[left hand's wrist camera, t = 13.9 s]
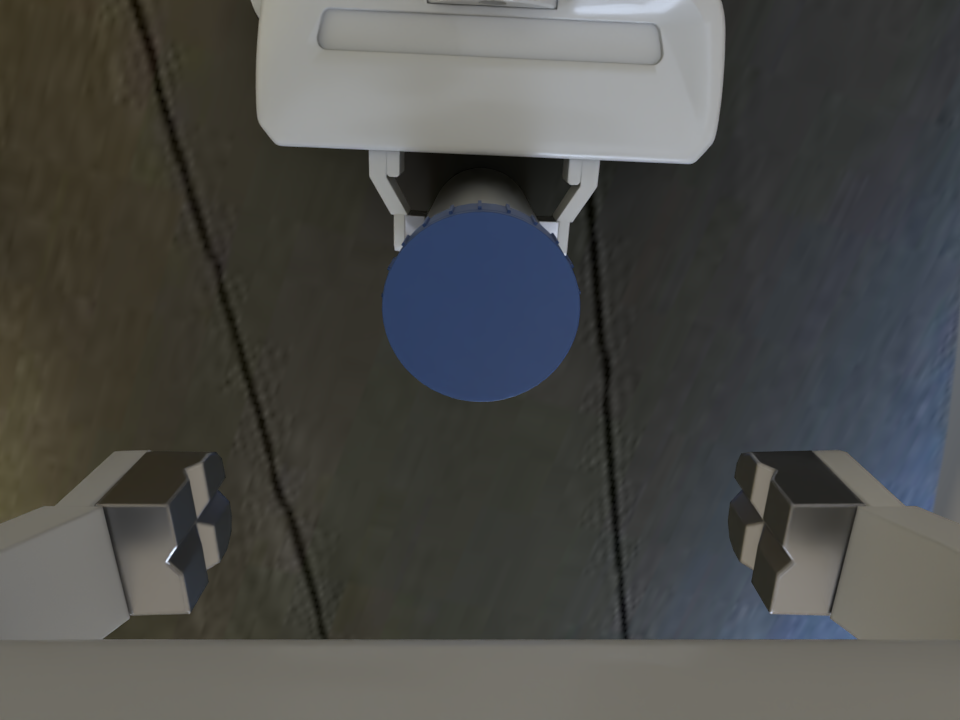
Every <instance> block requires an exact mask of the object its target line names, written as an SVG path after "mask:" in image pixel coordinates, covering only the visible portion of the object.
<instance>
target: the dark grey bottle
mask: <svg viewBox="0 0 960 720" xmlns="http://www.w3.org/2000/svg"><path fill="white" fill-rule="evenodd" d="M478 200H481V201H482V203H490V204H498V205H502V206H505V205H506V204H509V205H510V208H513V209H515V210H518V211H520V212H522V213H524V214H526V215H528V216H531V215H533V216H534V217H535V219H536V221H537V222H538V220H537V218H536V216H535V214H534V212H533V210H532V208H531V206H530V204H529V202H528V200H527V199H526V197H525V195H524V193H523V191H522V190H521V188H520V187H519V186H518V184H517V183H516V182H515V181H514V180H513V179H511V178H510V177H509V176H507V175H506V174H504V173H502V172H500V171H497V170H494V169H489V168H473V169H468V170H465V171H462V172H460V173H458V174H457V175H455V176H454V177H452V178H451V179H450V180H449V181H447V182H446V183H445V185H444V186H443V187H442V188H441V190H440V191H439V193H438V195H437V197H436V199H435V201H434V203H433V205H432V207H431V209H430V210H429V212H428V214H427V216H426V217H428V216H429V218H431V217H433V216H434V215H436V214H438V213H440V212H442V211H444V210H447V209H450V205H453V204H454V207H456V206H460V205H465V204H471V203H478ZM538 223H539V222H538Z"/></svg>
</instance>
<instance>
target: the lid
mask: <svg viewBox="0 0 960 720" xmlns="http://www.w3.org/2000/svg"><path fill="white" fill-rule="evenodd" d="M558 244H559V241H558V239H557V238H556V236H555V235H554V233H553V232H552V233H551V234H550V233H549V232H548V231H547V230H546V229H545V228H544V227H543V226H542V225H541V224H540V223H538V222H537V221H536V219H535V217H534V216H533V215H531V216H528V215H526V214H524V213H522V212H520V211H518V210H515V209H513V208H510V205H509V204H506V205H505V206H502V205H498V204H490V203H482V201H481V200H478V203H471V204H465V205H460V206H456V207H454V204H453V205H450V209H447V210H444V211H442V212H440V213H438V214H436V215H434V216H433V217H431V218H429V216H428V217H426V218H425V220H424V222H423V224H422V225H421V226H419V227H418V228H417V229H416V230H415V231H414V232H413V233H412V235H411V236H409V235H407V236H406V238H405V239H404V241H403V243H402V244H401V245H402V246H403V247H402V248H401V250H400V252H399V253H398V255H397V257H396V258H393V260H392V262H391V263H390V265H389V267H388V269H387V270H389V273H388V276H387V279H386V282H385V286H384V291H383V293H382V314H383V323H384V327H385V331H386V335H387V337H388V340H389V342H390V345H391V347H392V349H393V351H394V352H395V354H396V356H397V357H398V359H399V360H400V362H401V363H402V364H403V366H404V367H405V368H406V369H407V370H408V371H409V372H410V373H411V374H412V375H413V376H414V377H415V378H417V379H418V380H419V381H420V382H421V383H423V384H424V385H426V386H428V387H429V388H431V389H433V390H435V391H437V392H439V393H441V394H443V395H446V396H449V397H452V398H455V399H460V400H465V401H475V402H487V401H496V400H503V399H506V398H510V397H513V396H516V395H519V394H521V393H523V392H526V391H528V390H529V389H531V388H533V387H535V386H536V385H538V384H539V383H541V382H542V381H543V380H545V379H546V378H547V377H548V376H549V375H550V374H551V373H552V372H553V371H554V370H555V369H556V368H557V367H558V366H559V365H560V363H561V362H562V361H563V360H564V358H565V356H566V355H567V353H568V351H569V350H570V348H571V345H572V343H573V341H574V338H575V335H576V332H577V328H578V324H579V317H580V296H579V294H580V290H579V288H578V285H577V281H576V277H575V275H574V272H573V270H572V268H573V267H574V266H573V264H572V262H571V260H570V259H569V257H568V255H566V256H565V255H564V253H563V251H562V250H561V248H560V246H559V245H558Z"/></svg>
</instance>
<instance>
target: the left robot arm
mask: <svg viewBox="0 0 960 720" xmlns="http://www.w3.org/2000/svg"><path fill="white" fill-rule="evenodd" d="M225 478H226V477H225V472H224V467H223V462H222V458H221V457H220V456H219V455H218V454H217V453H216V452H193V451H150V450H134V451H116V452H113V453H112V454H111V455H110V456H109V457H108V458H107V459H106V460H105V461H103V462H102V463H101V464H100V465H99V466H98V467H97V468H96V469H95V470H94V471H92V472H91V473H90V474H89V475H88V476H87V477H86V478H85V479H84V480H83V481H82V482H80V483H79V484H78V485H77V486H76V487H75V488H74V489H73V490H72V491H71V492H69V493H68V494H67V495H66V496H65V497H64V498H63V499H62V500H61V501H60V502H59V503H57V504H56V505H55V506H43V507H41V508H38V509H36V510H33V511H31V512H28V513H26V514H23V515H21V516H18V517H16V518H13V519H11V520H8V521H6V522H3V523H1V524H0V720H960V524H959V523H956V522H954V521H951V520H949V519H947V518H944V517H942V516H939V515H937V514H934V513H932V512H929V511H927V510H924V509H922V508H919V507H917V506H905V505H904V504H903V503H902V502H900V501H899V500H898V499H897V498H896V497H895V496H894V495H893V494H892V493H891V492H890V491H888V490H887V489H886V488H885V487H884V486H883V485H882V484H881V483H880V482H879V481H878V480H876V479H875V478H874V477H873V476H872V475H871V474H870V473H869V472H868V471H867V470H866V469H864V468H863V467H862V466H861V465H860V464H859V463H858V462H857V461H856V460H855V459H853V458H852V457H851V456H850V455H849V454H848V453H847V452H844V451H840V450H825V451H776V452H747V453H741V455H740V457H739V460H738V462H737V465H736V471H735V476H734V478H735V479H736V481H737V482H738V484H739V485H740V487H741V488H742V490H741V491H740V492H739V493H738V494H737V496H736V497H735V498H734V499H733V500H732V501H731V502H730V508H729V516H728V526H729V537H730V541H731V544H732V547H733V550H734V552H735V554H736V556H737V558H738V560H739V561H740V562H741V563H742V564H744V565H746V566H747V567H749V568H751V569H752V570H753V575H752V581H751V582H752V584H753V586H754V587H755V589H756V591H757V592H758V594H759V596H760V597H761V599H762V601H763V603H764V604H765V606H766V608H767V609H768V611H769V613H770V614H791V615H828V616H830V619H832V620H833V621H834V622H836V623H837V624H838V625H840V626H841V627H842V628H844V629H845V630H847V631H848V632H849V633H851V634H852V635H853V636H855V637H856V638H857V639H859V640H448V639H447V640H444V639H443V640H441V639H440V640H439V639H436V640H435V639H433V640H432V639H103V638H104V637H106V636H107V635H108V634H110V633H111V632H112V631H114V630H115V629H116V628H118V627H119V626H120V625H122V624H123V623H124V622H126V621H127V620H128V619H130V616H131V615H167V614H190V613H191V611H192V609H193V608H194V606H195V604H196V603H197V601H198V599H199V597H200V596H201V594H202V592H203V591H204V589H205V587H206V586H207V584H208V582H209V581H208V575H207V570H208V569H209V568H211V567H213V566H214V565H216V564H218V563H219V562H220V561H221V560H222V558H223V556H224V554H225V552H226V550H227V548H228V544H229V540H230V535H231V531H232V514H231V507H230V502H229V501H228V500H227V499H226V498H225V497H224V496H223V494H222V493H221V492H220V491H219V490H218V488H219V487H220V485H221V484H222V482H223V481H224V479H225Z"/></svg>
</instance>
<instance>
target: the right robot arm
mask: <svg viewBox="0 0 960 720" xmlns="http://www.w3.org/2000/svg"><path fill="white" fill-rule="evenodd" d="M251 5H252V8H253V10H254V12H255V14H256V16H257V18H258V19H259V26H258V38H257V54H256V110H257V119H258V122H259V124H260V126H261V127H262V128H263V130H264V131H265V132H266V133H267V135H268V136H269V137H270V138H271V140H272V141H273V142H274V143H275V144H277V145H279V146H293V147H316V148H338V149H360V150H369V177H370V178H371V180H372V182H373V184H374V185H375V187H376V189H377V191H378V192H379V194H380V196H381V198H382V199H383V201H384V203H385V205H386V206H387V208H388V210H389V212H390V213H391V214H393V215H394V248H395V251H400V250H401V248H402V247H403V246H402V245H401V244H402V243H403V241H404V239H405V238H406V236H407V235H409V236H411V235H412V233H413V232H414V231H415V230H416V229H417V228H418V227H419V226H421V225H422V224H423V222H424V220H425V218H426V216H427V211H418V210H411V208H410V206H409V204H408V202H407V200H406V198H405V196H404V195H403V193H402V191H401V189H400V187H399V185H398V183H397V181H396V179H395V178H394V177H398V176H399V175H400V174H401V173H403V172H404V162H405V152H428V153H450V154H473V155H495V156H518V157H540V158H563V159H564V162H563V176H562V178H563V179H564V180H565V181H566V182H567V183H569V184H570V185H571V187H570V188H569V190H568V192H567V193H566V195H565V196H564V198H563V199H562V201H561V202H560V204H559V205H558V207H557V209H556V210H555V212H554V213H553V215H552V216H536V218H537V220H538V222H539V223H540V224H541V225H542V226H543V227H544V228H545V229H546V230H547V231H548V232H549V233H550V234H551V233H552V232H553V233H554V235H555V236H556V238H557V239H558V241H559V244H558V245H559V246H560V248H561V250H562V251H563V253H564V255H565V256H566V254H567V246H568V235H569V225H570V222H573V221H574V219H575V218H576V216H577V215H578V213H579V212H580V211H581V209H582V208H583V206H584V205H585V203H586V202H587V201H588V199H589V198H590V196H591V195H592V193H593V192H594V190H595V189H596V188H597V183H598V174H599V165H600V160H608V161H630V162H653V163H676V164H692V163H694V162H696V161H697V160H698V159H699V158H700V157H701V156H702V155H703V154H704V153H705V152H706V150H707V149H708V148H709V147H710V146H711V145H712V143H713V141H714V139H715V136H716V132H717V127H718V121H719V114H720V107H721V98H722V88H723V77H724V61H725V16H724V9H723V5H722V1H721V0H251Z"/></svg>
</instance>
